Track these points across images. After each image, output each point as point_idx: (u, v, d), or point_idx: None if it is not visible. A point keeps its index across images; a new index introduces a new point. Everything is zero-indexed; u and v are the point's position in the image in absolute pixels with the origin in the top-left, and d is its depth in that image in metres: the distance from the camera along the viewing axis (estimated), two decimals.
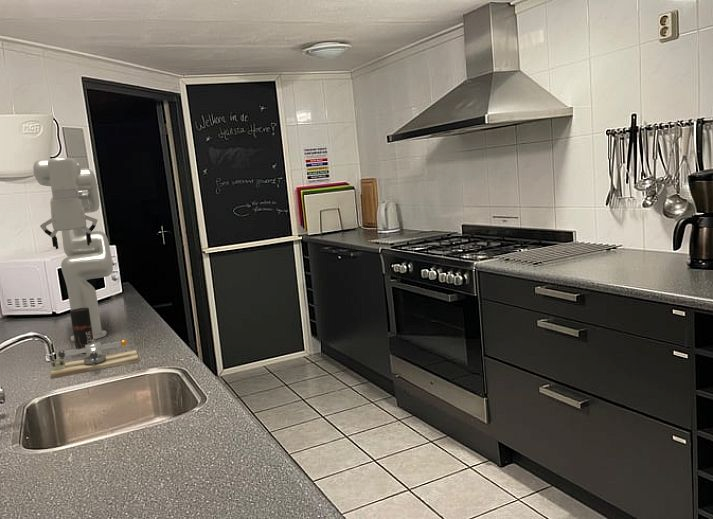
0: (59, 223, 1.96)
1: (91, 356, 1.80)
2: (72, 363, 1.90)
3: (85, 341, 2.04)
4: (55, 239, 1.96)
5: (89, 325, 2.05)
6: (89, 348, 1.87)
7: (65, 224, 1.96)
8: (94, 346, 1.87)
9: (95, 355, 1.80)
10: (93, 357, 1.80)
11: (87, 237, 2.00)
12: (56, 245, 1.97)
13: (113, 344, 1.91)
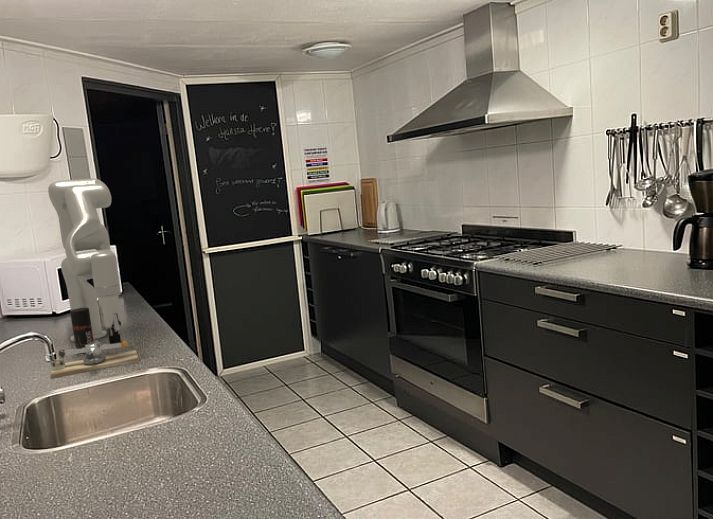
0: None
1: (87, 357, 1.80)
2: (72, 363, 1.90)
3: (85, 341, 2.04)
4: None
5: (89, 325, 2.05)
6: (88, 348, 1.87)
7: None
8: (93, 346, 1.87)
9: (91, 356, 1.80)
10: (89, 358, 1.80)
11: None
12: None
13: (113, 345, 1.90)
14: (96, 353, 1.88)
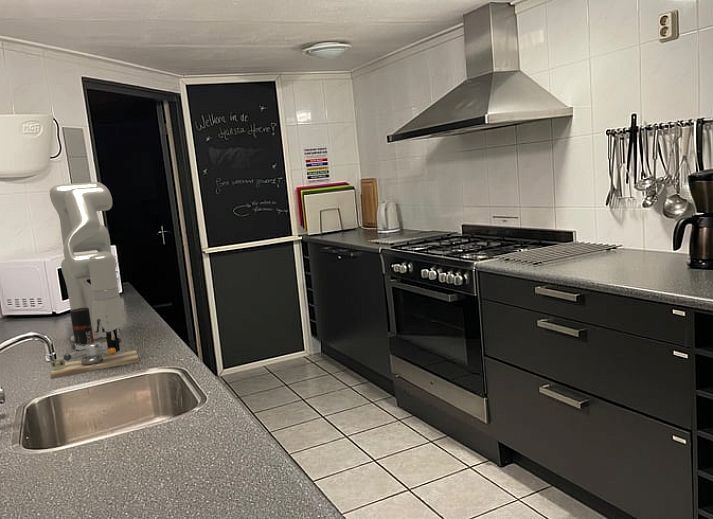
0: (110, 324, 1.83)
1: (63, 357, 1.81)
2: (72, 363, 1.90)
3: (85, 341, 2.04)
4: (116, 341, 1.87)
5: (89, 325, 2.05)
6: (85, 347, 1.88)
7: (114, 324, 1.85)
8: (87, 347, 1.87)
9: (65, 357, 1.80)
10: (64, 359, 1.81)
11: (118, 342, 1.88)
12: (117, 347, 1.87)
13: (103, 349, 1.85)
14: (90, 354, 1.87)
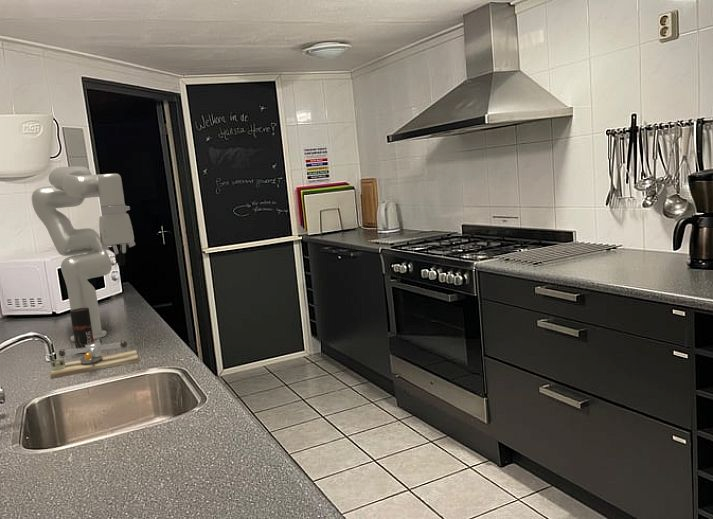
0: (109, 238, 1.98)
1: None
2: (72, 363, 1.90)
3: (85, 341, 2.04)
4: (119, 256, 2.01)
5: (89, 325, 2.05)
6: None
7: (115, 239, 1.99)
8: (85, 346, 1.88)
9: (59, 353, 1.86)
10: None
11: (122, 257, 2.02)
12: (120, 261, 2.01)
13: None
14: None
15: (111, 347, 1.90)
